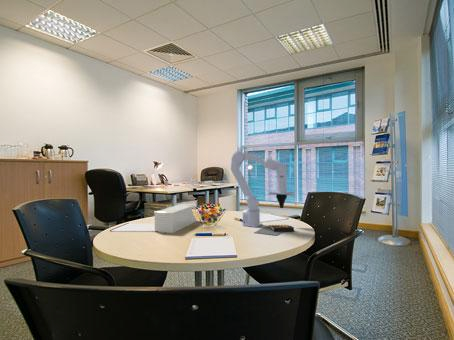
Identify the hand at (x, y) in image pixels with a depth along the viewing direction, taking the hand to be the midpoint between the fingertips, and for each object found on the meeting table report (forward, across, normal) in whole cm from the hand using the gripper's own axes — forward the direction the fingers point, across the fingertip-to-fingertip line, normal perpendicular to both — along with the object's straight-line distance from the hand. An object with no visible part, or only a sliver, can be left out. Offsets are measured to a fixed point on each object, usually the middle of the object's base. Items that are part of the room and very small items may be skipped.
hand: (281, 207), depth 148 cm
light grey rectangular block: (+11, -54, -27) cm, 61 cm away
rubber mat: (+10, -2, -14) cm, 18 cm away
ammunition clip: (+9, +6, -13) cm, 17 cm away
